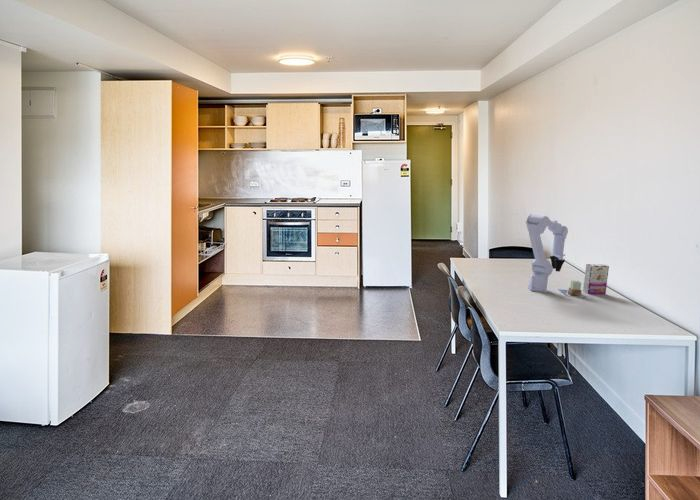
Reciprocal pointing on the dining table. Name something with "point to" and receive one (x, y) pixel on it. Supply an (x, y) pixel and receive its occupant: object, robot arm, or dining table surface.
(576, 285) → the sage cube
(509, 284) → the dining table surface
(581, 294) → the blueprint mat
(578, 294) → the brown block
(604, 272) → the candy bar box
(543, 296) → the dining table surface
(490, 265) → the dining table surface
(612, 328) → the dining table surface
